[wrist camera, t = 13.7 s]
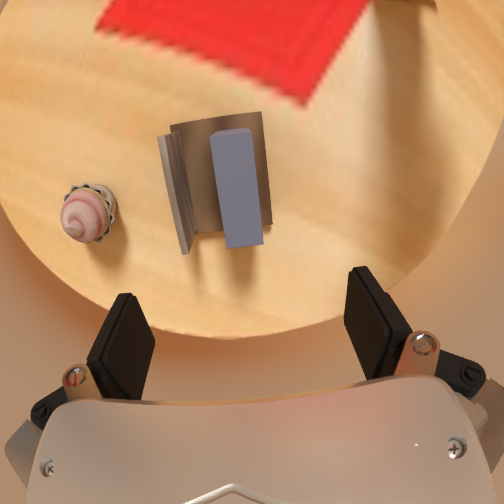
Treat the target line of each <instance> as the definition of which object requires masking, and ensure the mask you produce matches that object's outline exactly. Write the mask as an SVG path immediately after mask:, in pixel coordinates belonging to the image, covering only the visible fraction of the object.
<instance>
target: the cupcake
mask: <svg viewBox="0 0 504 504" xmlns="http://www.w3.org/2000/svg"><path fill="white" fill-rule="evenodd" d="M115 213H116V200H115V197H114V195H113V193H112V192H111V191H110V190H109V189H108V188H107V187H105V186H103V185H91V184H89V183H87V182H86V183H84V184H83V185H82V186H78V185H73V186H72V188H71V191H70V193H68V194H65V195H64V204H63V207H62V209H61V223H62V227H63V229H64V231H65V232H66V233H67V234H68V235H69V236H70V237H72V238H73V239H75V240H77V241H79V242H82V243H90V242H91V241H96V242H98V243H101V241H102V239H103V236H105V235H109V234H110V231H111V223H112V222H113V221H114V220H115V218H114V215H115Z"/></svg>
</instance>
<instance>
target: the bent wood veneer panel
mask: <svg viewBox="0 0 504 504" xmlns="http://www.w3.org/2000/svg"><path fill="white" fill-rule="evenodd" d="M247 127H248V128H249V129H250V131H251V132H252V140H253V149H254V158H255V167H256V176H257V185H258V195H259V204H260V213H261V223H262V225H271V224H273V223H272V212H271V201H270V190H269V180H268V170H267V160H266V150H265V141H264V132H263V123H262V114H261V112H253V113H244V114H235V115H228V116H221V117H214V118H208V119H202V120H196V121H190V122H185V123H180V124H175V125H170V130H171V133H169V134H166V135H163V136H160V137H157V138H158V144H159V150H160V155H161V160H162V166H163V171H164V176H165V181H166V186H167V191H168V195H169V200H170V204H171V209H172V213H173V218H174V222H175V226H176V231H177V235H178V239H179V243H180V247H181V251H182V255H185V254H189V252H190V249H191V245H192V242H193V239H194V236H195V234H200V233H207V232H215V231H222V230H224V228H223V222H222V216H221V210H220V204H219V197H218V191H217V185H216V178H215V172H214V165H213V158H212V151H211V144H210V138H209V137H210V136H212V135H213V134H214V133H216V132H217V131H223V130H230V129H238V128H247Z"/></svg>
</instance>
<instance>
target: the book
mask: <svg viewBox="0 0 504 504" xmlns="http://www.w3.org/2000/svg"><path fill="white" fill-rule="evenodd" d="M209 138H210V144H211V151H212V158H213V165H214V172H215V178H216V185H217V191H218V197H219V204H220V210H221V216H222V222H223V228H224V234H225V240H226V246H227V249H229V248H238V247H246V246H254V245H262V244H264V242H263V233H262V223H261V213H260V204H259V195H258V185H257V176H256V167H255V158H254V149H253V140H252V132H251V131H250V129H249V128H248V127H247V128H238V129H230V130H223V131H217V132H216V133H214V134H213V135H212V136H210V137H209Z"/></svg>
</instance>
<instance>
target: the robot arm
mask: <svg viewBox="0 0 504 504" xmlns="http://www.w3.org/2000/svg"><path fill="white" fill-rule="evenodd" d="M344 324H345V327H346V329H347V332H348V334H349V337H350V339H351V342H352V344H353V347H354V349H355V351H356V354H357V356H358V359H359V362H360V364H361V367H362V369H363V372H364V374H365V377H366V380H367V381H362V382H358V383H353V384H348V385H343V386H339V387H332V388H328V389H322V390H316V391H310V392H304V393H298V394H290V395H282V396H274V397H265V398H255V399H243V400H227V401H200V402H167V401H142V400H141V397H142V393H143V389H144V385H145V381H146V377H147V372H148V369H149V365H150V361H151V358H152V353H153V350H154V347H155V338H154V336H153V334H152V332H151V329H150V327H149V325H148V323H147V321H146V318H145V316H144V314H143V311H142V309H141V307H140V304H139V302H138V300H137V298H136V296H133V294H132V293H121V294H118V296H117V298H116V300H115V302H114V303H113V305H112V307H111V309H110V311H109V313H108V315H107V317H106V319H105V321H104V323H103V325H102V327H101V329H100V331H99V333H98V336H97V338H96V340H95V342H94V344H93V346H92V348H91V351H90V353H89V355H88V357H87V364H86V365H85V364H75V365H73V366H71V367H70V368H69V369H67V370H66V371H65V373H64V375H63V378H62V383H63V386H62V387H60V388H59V389H57V390H56V391H54V392H53V393H51V394H49V395H48V396H46V397H45V398H43V399H42V400H40V401H38V402H37V403H36V404H35V405H34V406H33V408H32V410H31V420H30V421H29V420H28V419H27V420H26V421H25V422H24V423H23V424H22V425H21V426H20V428H19V429H18V430H17V431H16V432H15V433H14V434H13V435H12V436H11V438H10V439H9V440H8V441H7V443H6V445H5V454H6V457H7V458H8V460H9V462H10V463H11V465H12V467H13V468H14V470H15V472H16V473H17V475H18V476H19V478H20V479H21V481H22V482H23V484H24V485H25V486H26V488H27V495H26V503H25V504H498V502H497V497H496V493H495V489H494V485H493V481H492V477H491V473H492V472H493V470H494V468H495V467H496V465H497V463H498V462H499V460H500V458H501V456H502V455H503V453H504V387H503V386H501V385H500V384H498V383H497V382H496V381H494V380H493V379H490V380H487V379H486V374H485V371H484V369H483V368H482V366H480V365H479V364H478V363H475V362H474V361H471V360H468V359H465V358H463V357H459V356H457V355H454V354H451V353H449V352H446V351H443V350H440V343H439V340H438V339H437V338H436V336H434V335H433V334H432V333H430V332H427V331H415V332H413V331H412V329H411V328H410V326H409V324H408V323H407V321H406V320H405V318H404V316H403V315H402V313H401V312H400V310H399V309H398V307H397V306H396V304H395V303H394V301H393V300H392V298H391V297H390V295H389V294H388V293H386V292H384V291H383V289H382V288H381V286H380V285H379V283H378V282H377V280H376V279H375V277H374V276H373V275H372V273H371V272H370V270H369V269H368V267H367V266H360V267H354V268H353V269H352V271H350V272H349V275H348V285H347V295H346V303H345V312H344Z"/></svg>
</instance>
